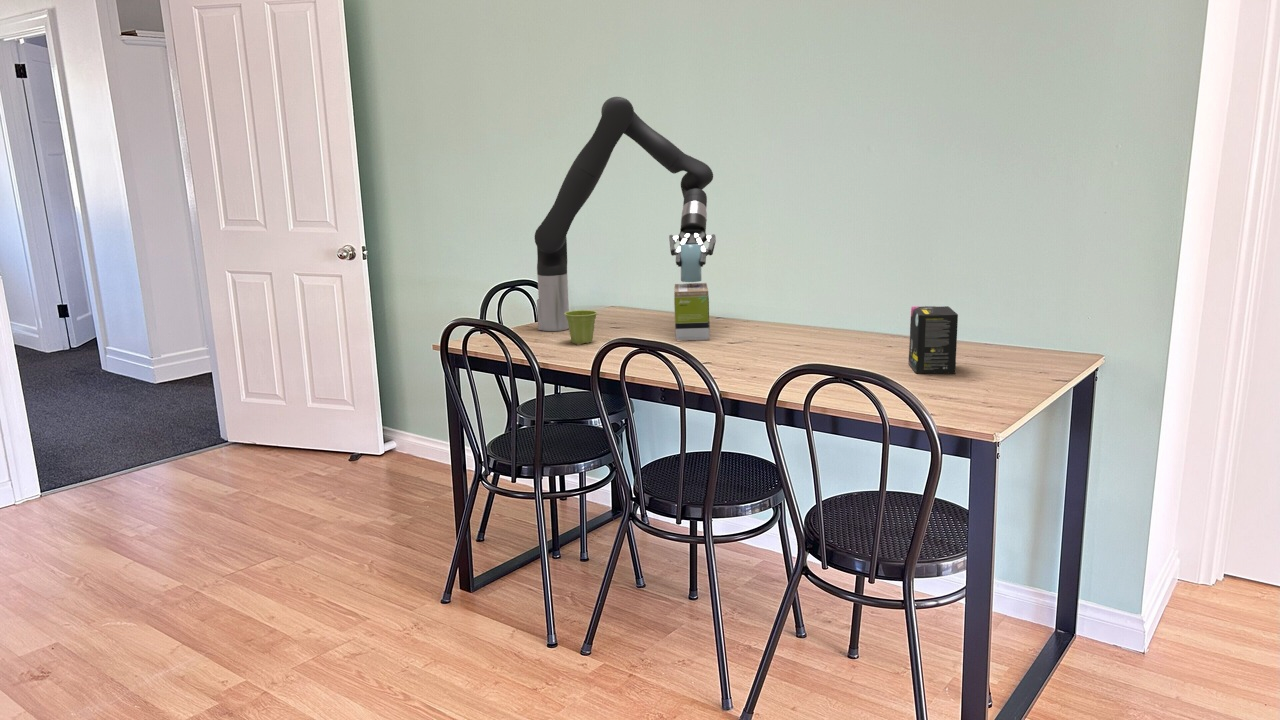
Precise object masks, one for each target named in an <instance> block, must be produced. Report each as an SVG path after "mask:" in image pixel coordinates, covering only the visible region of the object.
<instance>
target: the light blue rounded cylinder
mask: <svg viewBox="0 0 1280 720" xmlns="http://www.w3.org/2000/svg"><path fill="white" fill-rule="evenodd" d="M680 255H681V267H680V282H682V283H697V282H698V283H700V282H701V281H702V267H701V265H700V258H701V244H681V245H680Z"/></svg>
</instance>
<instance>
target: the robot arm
mask: <svg viewBox="0 0 1280 720" xmlns="http://www.w3.org/2000/svg"><path fill="white" fill-rule="evenodd" d="M600 112H601V117H600V119H599V122H598V123H597V126H596V129H595V130H594V132H593V134H592V136H591V137H590V139H589V140H588V142H586V144H585V145H584V146H583V147H582V149H581V150H580V152H579V153H578V155H577V156H576V157H575V158H574V160H573V162H572V164H571V166H570V167H569V169H568V171H567V173H566V174H565V177H564V180H563V181H562V184H561V186H560V188H559V191H558V193H557V196H556V199H555V201H554V204H552V207H551V208H550V210H549V211H548V213H547V214H546V216H545V218H544V219H543V220H542V222H541V223H540V224H539V225H538V227H537V229H536V230H535V232H534V243H535V245H536V250H537V251H536V252H537V260H536V261H537V263H536V272H537V273H536V274H537V291H538V293H537V295H538V299H537V300H536V312H537V328H538V329H537V330H538V331H544V332H560V331H567V330H569V325H568V320H567V318H566V315H565V312H569V311H570V303H569V285H568V282H569V281H568V241H567V234H568V231H569V230H570V228H571V225H572V223H573V221H574V219H575V218H576V216H577V214H578V213H579V211H580V210H581V208H582V207H583V206H584V205H585V204H586V202H587V201H588V199H589V198H590V197H591V195H592V193H593V192H594V190H595V188H596V186H597V184H598V183H599V181H600V179H601V177H602V175H603V173H604V171H605V168H606V167H607V164H608V162H609V160H610V157H611V156H612V153H613V151H614V149H615V147H616V145H617V144H618V143H619V141H620V139H621V138H622V136H623V135H625V136H627V137H629V138H630V139H631V140H632V141H634V142H635V143H636V144H638V145H639V146H640V147H641V148H642V149H643V150H644V151H645V152H646V153H648V154H649V156H650V157H652V158H653V159H654V160H655V161H656V162H658V163H659V164H660V165H661V166H663V168H665V169H666V170H667V171H668V172H670V173H671V174H678V173H681V172H685V174H684V175H683V176H682V178H681V181H680V189H681V193H682V196H683V203H682V204H683V205H682V206H683V207H682V210H681V211H682V212H681V219H680V231H679V234H678V235H674V234H669V236H668V239H669V248H670V249H669V250H670V255H671V256H672V257H673V256H675V265H676V266H677V267H678V268H679V267H680V268H681V255H680V245H681V244H701V258H700V265H701V268H703V267H704V266H705V265H706V263H707V262H706V261H707V256H712V255H713V254H714V251H715V247H716V246H715V245H716V242H717V239H716V234H711V235H707V233H706V232H707V231H706V230H707V221H708V219H707V217H708V215H707V214H708V213H707V206H708V205H707V204H708V195H707V193H706V192H705V191H704V189H705V188H706V187H707V186H708V185H710V184H711V183H712V182H713V179H714V172H713V170H712V168H711V167H710V166H709V165H708V164H707V163H705V162H703V161H702V160H700V159H697V158H694V157H693V156H691V155H689V154H687V153H685V152H683V151H682V150H681V148H679V147H677V146H676V145H675V144H674V143H673V142H671V141H670V140H669V139H667V138H666V137H665V136H663V135H662V134H661V133H659V132H658V131H656V130H655V129H653V128H652V127H651V126H649V125H648V124H647V122H645V121H644V120H642V119H641V118H640V116H639V115H638V114H637V113H636V112H635V110H634V106H633V104H632V102H630V100H628V99H627V98H625V97H622V96H613V97H610V98H608V99H607V100H605V101H604V103H603V104H602V106H601V111H600ZM678 241H679V245H678V247H677V248H676V247H675V245H676V244H677V242H678ZM705 242H707V243H708V247H707V248H706V247H705V245H704V244H705Z"/></svg>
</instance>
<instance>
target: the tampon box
mask: <svg viewBox="0 0 1280 720" xmlns="http://www.w3.org/2000/svg"><path fill="white" fill-rule="evenodd" d="M910 308H911V309H910V310H911V311H910V322H909V323H910V327H909V345H908V346H909V347H908V349H909V350H908V365H909V366H910V368H911V369H912V370H913V372H914V373H915V374H916V375H919V374H921V375H924V373H925V375H926V374H927V375H932V374H934V375H935V374H937V375H940V374H941V375H942V374H944V375H956V368H957V367H956V366H957V361H956V360H957V345H958V344H957V343H958V319H959V318H958V317H959V315H958V313H957V312H956V311H955V310H954V309H952V308H951V307H950V306H935V305H934V306H929V305H928V306H926V305H925V306H911V307H910ZM917 373H918V374H917ZM922 373H923V374H922Z"/></svg>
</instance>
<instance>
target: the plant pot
mask: <svg viewBox="0 0 1280 720" xmlns="http://www.w3.org/2000/svg"><path fill="white" fill-rule="evenodd" d="M565 315H566V318H567V320H568V325H569V329H568V331H569V335H570V341H571V343H572V344H575V345H577V344H579V345H583V344H590V343H589V342H591V343H592V342H593V341H594V333H595V332H594V329H595V323H596V321H595V320H596V318H597V315H598V311H596V310H586V309H585V310H584V309H582V310H581V309H580V310H578V309H577V310H569V312H565Z"/></svg>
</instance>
